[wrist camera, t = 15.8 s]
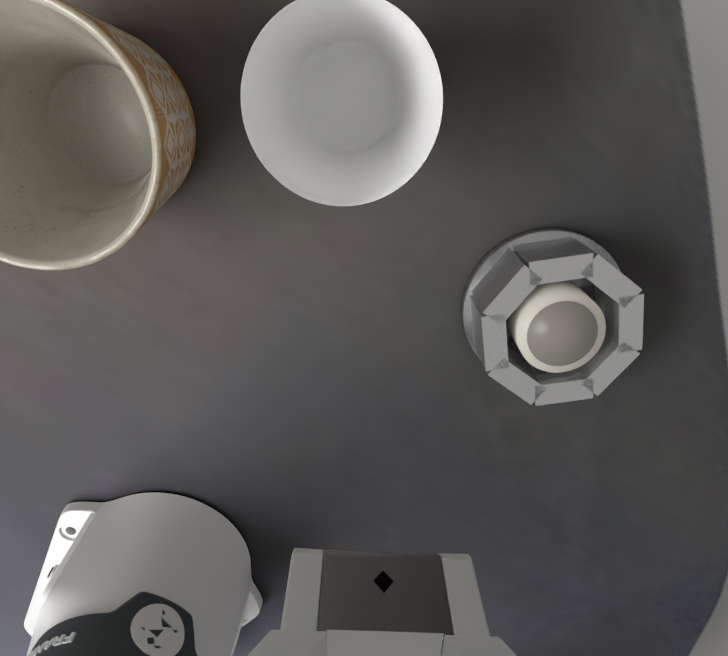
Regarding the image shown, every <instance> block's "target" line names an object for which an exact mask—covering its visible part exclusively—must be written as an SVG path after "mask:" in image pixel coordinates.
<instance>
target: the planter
mask: <svg viewBox="0 0 728 656" xmlns="http://www.w3.org/2000/svg"><path fill="white" fill-rule="evenodd" d="M195 145H196V127H195V119H194V114H193V110H192V107H191V103H190V101H189V98H188V95H187V93H186V91H185V89H184V87H183V85H182V83H181V82H180V80H179V78H178V77H177V75H176V74H175V72H174V71H173V70H172V68H171V67H170V66H169V65H168V63H167V62H166V61H165V60H164V59H163V58H162V57H161V56H160V55H159V54H158V53H157V52H156V51H155V50H153V49H152V48H151V47H150V46H148V45H147V44H145V43H144V42H142V41H141V40H139V39H137V38H136V37H134V36H132V35H130V34H128V33H126V32H124V31H122V30H120V29H118V28H116V27H114V26H112V25H110V24H108V23H106V22H104V21H102V20H100V19H98V18H96V17H94V16H92V15H90V14H88V13H86V12H83V11H81V10H79V9H77V8H75V7H73V6H71V5H69V4H67V3H65V2H63V1H61V0H0V261H3V262H6V263H9V264H12V265H16V266H20V267H25V268H30V269H38V270H66V269H73V268H79V267H83V266H86V265H90V264H92V263H95V262H98V261H100V260H102V259H104V258H106V257H108V256H110V255H111V254H113V253H115V252H116V251H117V250H119V249H120V248H122V247H123V246H124V245H125V244H126V243H127V242H129V240H130V239H131V238H132V237H133V236H134V235H135V234H136V233H137V232H138V231H139V230H140V229H141V228H142V227H143V226H144V225H145V224H146V223H147V222H148V221H149V220H150V218H151V217H152V216H153V215H154V214H155V213H156V212H157V211H158V210H159V209H160V208H161V207H162V206H163V205H164V204H165V203H166V202H167V201H168V199H169V198H170V197H171V196H172V195H173V194H174V193H175V192H176V191H177V190H178V188H179V187H180V186H181V184H182V183H183V181H184V180H185V178H186V176H187V174H188V172H189V170H190V167H191V164H192V161H193V157H194V152H195Z"/></svg>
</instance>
